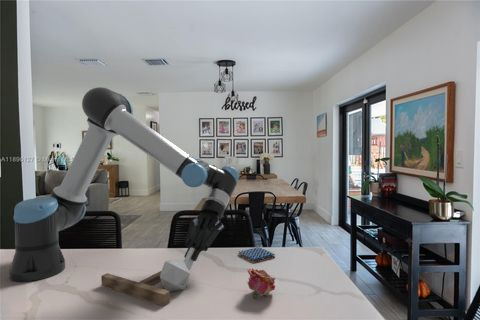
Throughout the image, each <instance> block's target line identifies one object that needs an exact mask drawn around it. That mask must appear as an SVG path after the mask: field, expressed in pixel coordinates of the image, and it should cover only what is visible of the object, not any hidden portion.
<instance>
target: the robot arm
mask: <svg viewBox="0 0 480 320" xmlns="http://www.w3.org/2000/svg"><path fill="white" fill-rule="evenodd" d="M81 107H82V110H83V113H84V115H85V116H86V117H87V119H86V123H87V124H88V128H87V130H86V132H85V134H84V136H83V138H82V140H81V142H80V145H79V146H78V148H77V151H76V153H75V155H74V157H73V159H72V161H71V163H70V165H69V167H68V169H67V171H66V173H65V175H64V177H63V180H62V182H61V184H60V185H59V186H56V187H54V188H53V189H52V191H51V193H50V195H49V196H39V197H34V198H29V199H25V200H22V201H20V202H18V203H16V205H15V206H14V212H13V213H14V215H13V221H14V223H13V225H14V246H15V251H14V255H13V258H12V261H11V265H10V267H9V270H8V273H9V274H8V276H9V277H8V278H9V279H10V281H13V282H32V281H33V282H34V281H38V280H43V279H46V278H49V277H53V276H55V275H58V274H59V273H61V272H63V271H64V270H65V269H66V259H65V256H64V254H63V252H62V249H61V247H60V245H59V243H60V242H59V232H61V231H63V230H66V229H68V228H70V227H74V226H75V225H76V224H77V223H79V221H81V220H82V219H83V218H84V217H85V215H86V210H87V206H86V203H87V200H88V198H87V196H86V193H87V191H88V189H89V186H90V184H91V182H92V180H93V178H94V177H95V174H96V172H97V171H98V168H99V166H100V164H101V162H102V159H103V157H104V155H105V153H106V152H107V150H108V147H109V146H110V144H111V141H112V139H113V137H115V136H121V138H124V139H125V140H126V141H128V142H129V143H130V144H132V145H133V146H135V147H136V148H138V149H139V151H142V152H143V153H145V154H146V155H147V156H149V157H150V158H152V159H153V160H155V161H156V162H157V163H159V164H160V165H162V166H163V167H165V168H166V169H167V170H168V171H171V172H172V173H173V174H174V175H176V176H177V178H179V179H181V180H182V182H183V184H184V185H185V186H187V187H190V188H198V187H201V186H203V185H205V186H207V187H208V188H210V190H209V192H208V194H207V197H206V198H205V201H204V202H203V204H202V206H201V209H200V213H199V214H198V215H197V217H196V218H194V219H193V218H192V217H191V218H190V219H189V226H188V230H187V233H186V236H185V237H186V238H185V241H184V245H185V246H186V247H187V250H186V252H185V253H184V256H183V257H184V259H183V260H184V262H185V264H186V266H187V268H188V270H189V272H190V271H191V269H192V267H193V264H194V262H196V261H197V260H198V257H199V255H200V253H201V252H207V251H208V249H209V248H210V247H211V245H212V243H214V241H215V240H216V238H217V237H218V235H219V233H220V232H222V231H223V230H224V229H225V226H224V225H223V223H222V222H221V220H222V217H223V216H224V213H225V211H226V208H227V206H228V204H229V202H230V199H231V197H232V196H233V193H234V190H235V189H236V187H237V184H238V181H239V178H240V173H239V171H238V170H237V169H236V168H235V167H234V166H229V165H224V166H222V167H221V168H218V167H216V166H214V165H212V164H210V163H208V162H206V161H204V160H202V159H200V158H198V157H196V156H195V157H194V156H190V155H189V154H187V153H186V152H185V151H183V150H182V149H181V148H179V147H178V146H177V145H175V144H174V143H173V142H171V141H170V140H168V139H166V137H164V136H162V135H161V134H160V133H158V132H157V131H156V130H154V129H152V127H150V126H148V125H147V124H146V123H144V122H143V121H141V120H140V119H138V118H137V117H135V115H134V109H133V108H134V107H133V105H132V103H131V101H130V100H129V99H128V98H127V97H126V96H124V95H123V94H121V93H118V92H115V91H113V90H111V89H109V88H106V87H100V86H99V87H94V88H92V89H89V90H88V91H87V92H86V93H85V94H84V96H83V97H82V102H81Z"/></svg>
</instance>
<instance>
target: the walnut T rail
mask: <svg viewBox="0 0 480 320" xmlns="http://www.w3.org/2000/svg"><path fill="white" fill-rule="evenodd" d="M161 271H162V270H160V271H157V272H156V273H154V274H152V275H150V276H148V277H146V278H144V279H142V280H140V281H135V280H132V279H129V278H124V277H122V276H119V275H115V274H111V273H108V272H107V273H105V274H102V275H101V287H104V288H107V289H110V290H114V291H116V292H119V293H122V294H126V295H129V296H132V297H135V298H138V299H141V300H144V301H146V302H150V303H154V304H156V305H159V306H162V307H165V306H167V305H169V304H170V303H171V301H170V299H171V295H170V293H171V291H167V290H165V289H163V288H159V287H156V284H159V283H160V282H162V281H161V279H160V274H161ZM154 285H155V286H154Z"/></svg>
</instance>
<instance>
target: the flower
mask: <svg viewBox="0 0 480 320" xmlns="http://www.w3.org/2000/svg"><path fill="white" fill-rule="evenodd" d="M246 271H247V272H248V275H249V278H248V281H246V283H247V286H248V288H249V290H252V291H253V295H252V299H256V296H257V295H259V296H261V297H262V298H263V297H266V298H267V297H270V298H271V296H269V295H268V294H269V293H270V292H272V291H275V288H276V285H275V280H276V277H271V275H270V274H268V273H267V271H266V270H265V269H260V270H258V269H254V268H253V267H252V269H251V268H249V269H247V270H246Z"/></svg>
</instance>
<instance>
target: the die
mask: <svg viewBox="0 0 480 320" xmlns="http://www.w3.org/2000/svg"><path fill="white" fill-rule="evenodd" d="M184 260H185V259H184V258H182V259H180V258H179V259H172V260H171V259H170V260H164V263H163V265H162V269H161V270H160V271H161V274H160V279H161V281H160V282H161V283H162V287H163V288H164V290H167V291H170V292H176V291H183V290H185V289H186V287H187V283H188V281H189V278H190V276H191V274H190V271H189V270H188V268H187V266H186V264H185V262H184Z"/></svg>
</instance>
